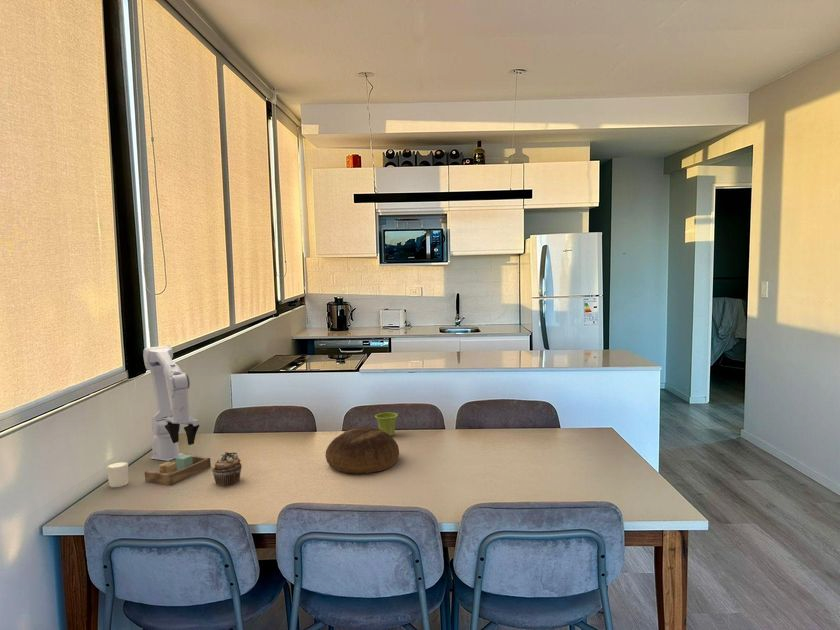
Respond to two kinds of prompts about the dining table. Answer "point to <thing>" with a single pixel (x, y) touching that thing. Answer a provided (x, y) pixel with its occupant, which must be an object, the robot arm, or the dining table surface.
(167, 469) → the oak block
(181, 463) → the teal block
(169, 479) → the corral
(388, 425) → the plant pot
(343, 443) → the bread
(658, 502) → the dining table surface
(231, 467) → the cupcake
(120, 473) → the white cylinder
